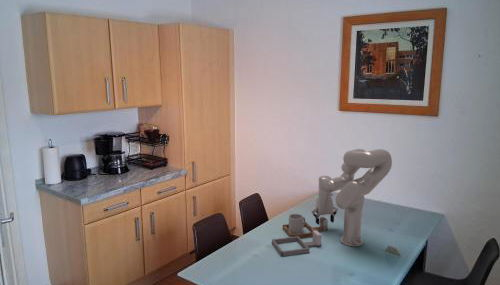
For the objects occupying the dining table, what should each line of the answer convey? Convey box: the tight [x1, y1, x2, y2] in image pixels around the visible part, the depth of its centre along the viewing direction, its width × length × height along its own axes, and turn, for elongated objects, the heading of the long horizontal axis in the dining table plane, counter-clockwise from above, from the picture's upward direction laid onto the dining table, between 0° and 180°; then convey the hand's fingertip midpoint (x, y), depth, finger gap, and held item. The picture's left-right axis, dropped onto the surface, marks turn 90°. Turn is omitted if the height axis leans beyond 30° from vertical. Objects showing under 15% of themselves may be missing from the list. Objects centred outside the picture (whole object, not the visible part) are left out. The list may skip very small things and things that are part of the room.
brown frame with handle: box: [282, 216, 329, 239], centre depth 228 cm, size 16×26×7 cm, turn 105°
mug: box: [288, 213, 306, 234], centre depth 226 cm, size 12×8×11 cm
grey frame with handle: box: [271, 230, 322, 257], centre depth 208 cm, size 16×26×7 cm, turn 105°
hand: (324, 223), depth 230 cm, fingers open, 9 cm apart
